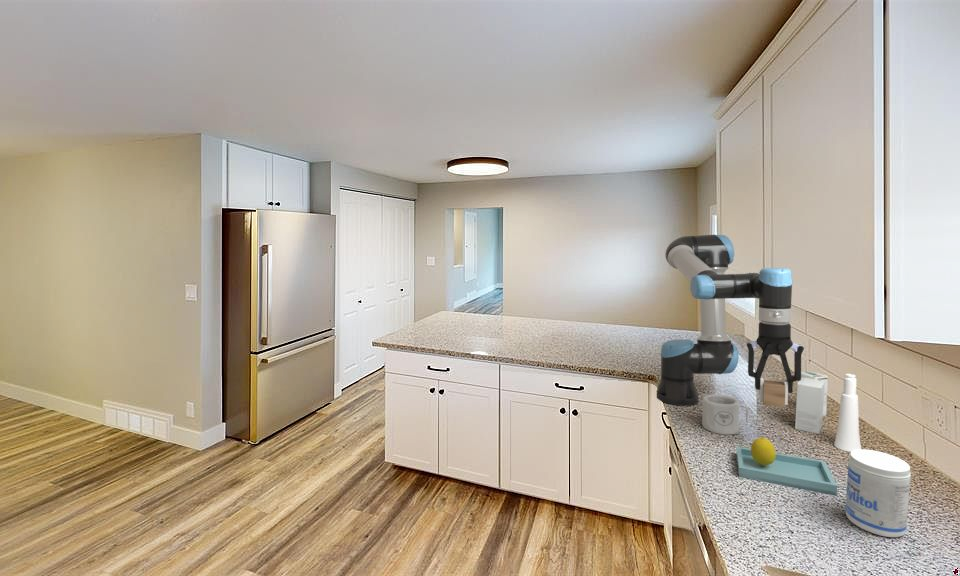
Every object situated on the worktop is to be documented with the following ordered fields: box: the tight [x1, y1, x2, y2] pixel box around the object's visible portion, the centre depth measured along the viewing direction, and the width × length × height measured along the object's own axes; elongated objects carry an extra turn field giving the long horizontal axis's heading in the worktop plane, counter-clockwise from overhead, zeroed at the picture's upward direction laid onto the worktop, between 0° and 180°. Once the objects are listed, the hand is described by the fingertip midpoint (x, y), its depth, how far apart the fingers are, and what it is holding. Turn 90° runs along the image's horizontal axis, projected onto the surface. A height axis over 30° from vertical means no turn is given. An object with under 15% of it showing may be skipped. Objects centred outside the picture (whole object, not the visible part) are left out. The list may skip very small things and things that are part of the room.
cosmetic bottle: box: [833, 373, 862, 453], centre depth 122 cm, size 6×6×22 cm
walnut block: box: [762, 379, 786, 408], centre depth 120 cm, size 5×5×6 cm
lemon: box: [750, 436, 777, 466], centre depth 113 cm, size 6×6×8 cm
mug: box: [701, 393, 750, 436], centre depth 138 cm, size 14×11×10 cm
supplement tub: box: [845, 448, 912, 538], centre depth 89 cm, size 10×10×15 cm
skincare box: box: [794, 377, 825, 435], centre depth 136 cm, size 8×7×16 cm
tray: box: [736, 446, 838, 496], centre depth 111 cm, size 13×20×2 cm, turn 61°
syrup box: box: [801, 371, 829, 417], centre depth 146 cm, size 6×6×14 cm
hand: (773, 401), depth 121 cm, fingers closed on walnut block, 5 cm apart
